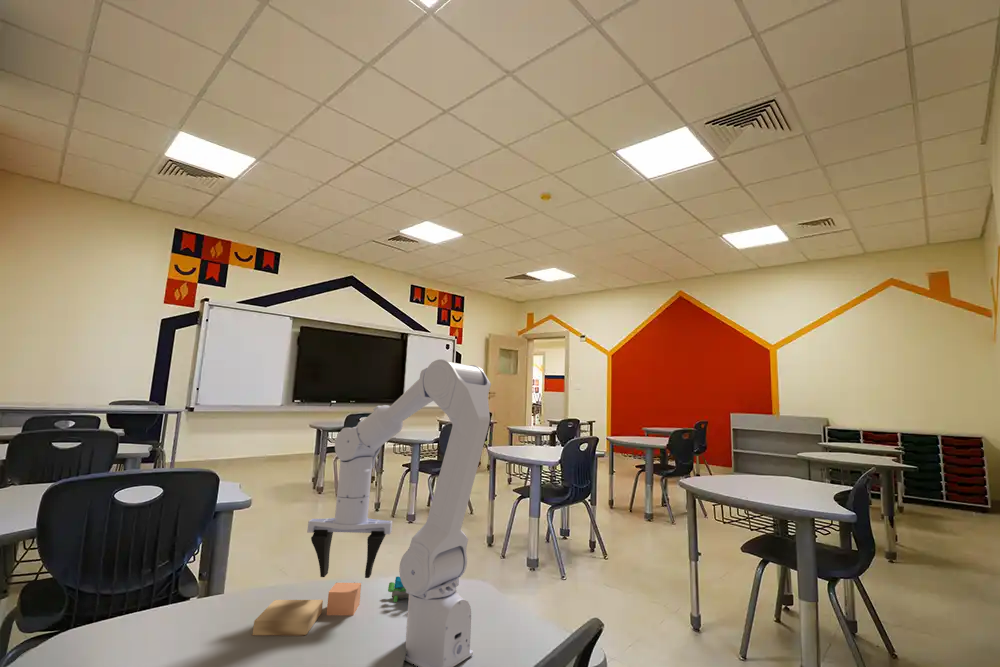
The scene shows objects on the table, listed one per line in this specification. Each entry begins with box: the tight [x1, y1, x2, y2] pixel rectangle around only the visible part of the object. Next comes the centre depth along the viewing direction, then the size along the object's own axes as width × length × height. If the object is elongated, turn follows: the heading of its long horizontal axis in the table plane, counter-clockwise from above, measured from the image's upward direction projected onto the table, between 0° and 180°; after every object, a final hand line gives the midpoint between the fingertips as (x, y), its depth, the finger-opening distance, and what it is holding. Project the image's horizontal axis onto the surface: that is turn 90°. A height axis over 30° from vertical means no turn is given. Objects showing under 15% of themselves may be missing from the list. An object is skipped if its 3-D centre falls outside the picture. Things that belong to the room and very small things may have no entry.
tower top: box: [252, 599, 324, 636], centre depth 74 cm, size 8×8×2 cm
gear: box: [387, 576, 409, 603], centre depth 85 cm, size 11×6×10 cm
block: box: [326, 582, 362, 616], centre depth 80 cm, size 4×4×5 cm
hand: (346, 575), depth 81 cm, fingers open, 7 cm apart
